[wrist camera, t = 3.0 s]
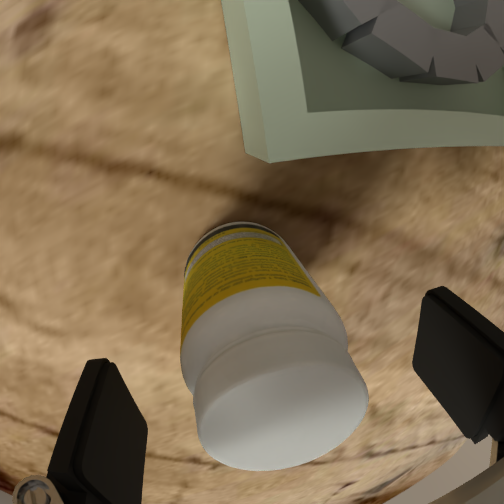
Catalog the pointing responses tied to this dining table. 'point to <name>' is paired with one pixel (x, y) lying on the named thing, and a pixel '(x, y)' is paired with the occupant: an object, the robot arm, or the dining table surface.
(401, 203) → the dining table surface
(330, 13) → the socket box
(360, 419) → the supplement bottle
